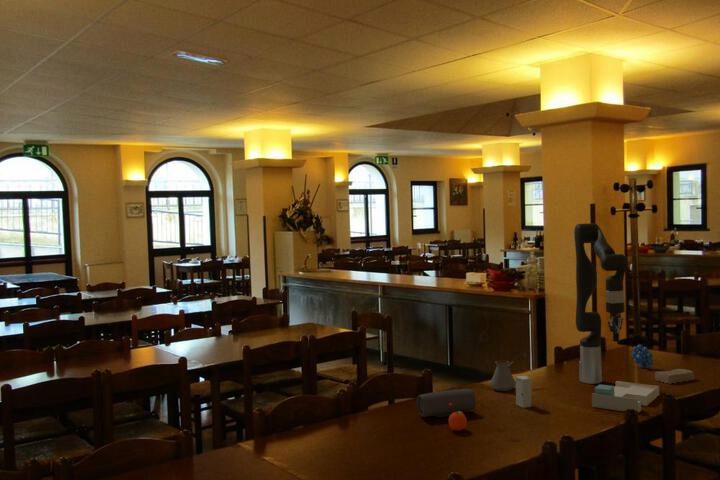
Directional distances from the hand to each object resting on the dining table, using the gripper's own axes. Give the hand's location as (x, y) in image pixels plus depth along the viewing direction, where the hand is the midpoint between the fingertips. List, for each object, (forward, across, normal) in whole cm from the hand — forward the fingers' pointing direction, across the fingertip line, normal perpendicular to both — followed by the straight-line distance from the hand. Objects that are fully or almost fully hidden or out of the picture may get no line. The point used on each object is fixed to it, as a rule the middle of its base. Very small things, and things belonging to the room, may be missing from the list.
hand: (616, 341), depth 279 cm
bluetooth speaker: (+25, +56, -51) cm, 80 cm away
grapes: (+25, -62, -8) cm, 67 cm away
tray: (+25, 0, +4) cm, 25 cm away
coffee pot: (+25, +3, -48) cm, 55 cm away
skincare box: (+25, +28, -30) cm, 48 cm away
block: (+21, +12, -2) cm, 24 cm away
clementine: (+25, +70, -37) cm, 83 cm away
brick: (+26, -45, +12) cm, 53 cm away
